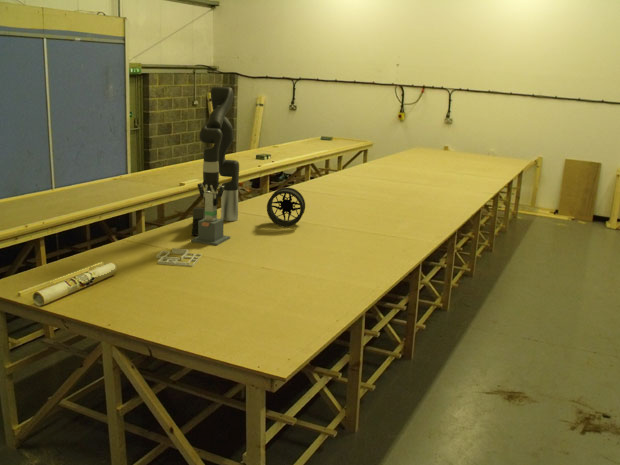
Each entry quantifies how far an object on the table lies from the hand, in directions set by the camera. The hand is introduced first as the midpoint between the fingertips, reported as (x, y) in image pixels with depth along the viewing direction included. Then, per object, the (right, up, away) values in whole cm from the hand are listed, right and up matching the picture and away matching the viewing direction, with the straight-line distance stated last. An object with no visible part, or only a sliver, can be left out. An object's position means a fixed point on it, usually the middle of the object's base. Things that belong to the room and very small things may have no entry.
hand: (210, 205), depth 297 cm
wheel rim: (+35, -9, +39) cm, 53 cm away
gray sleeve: (-1, -17, +5) cm, 18 cm away
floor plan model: (-14, -25, -24) cm, 37 cm away
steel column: (0, -9, +3) cm, 10 cm away
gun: (-9, -12, +24) cm, 28 cm away
